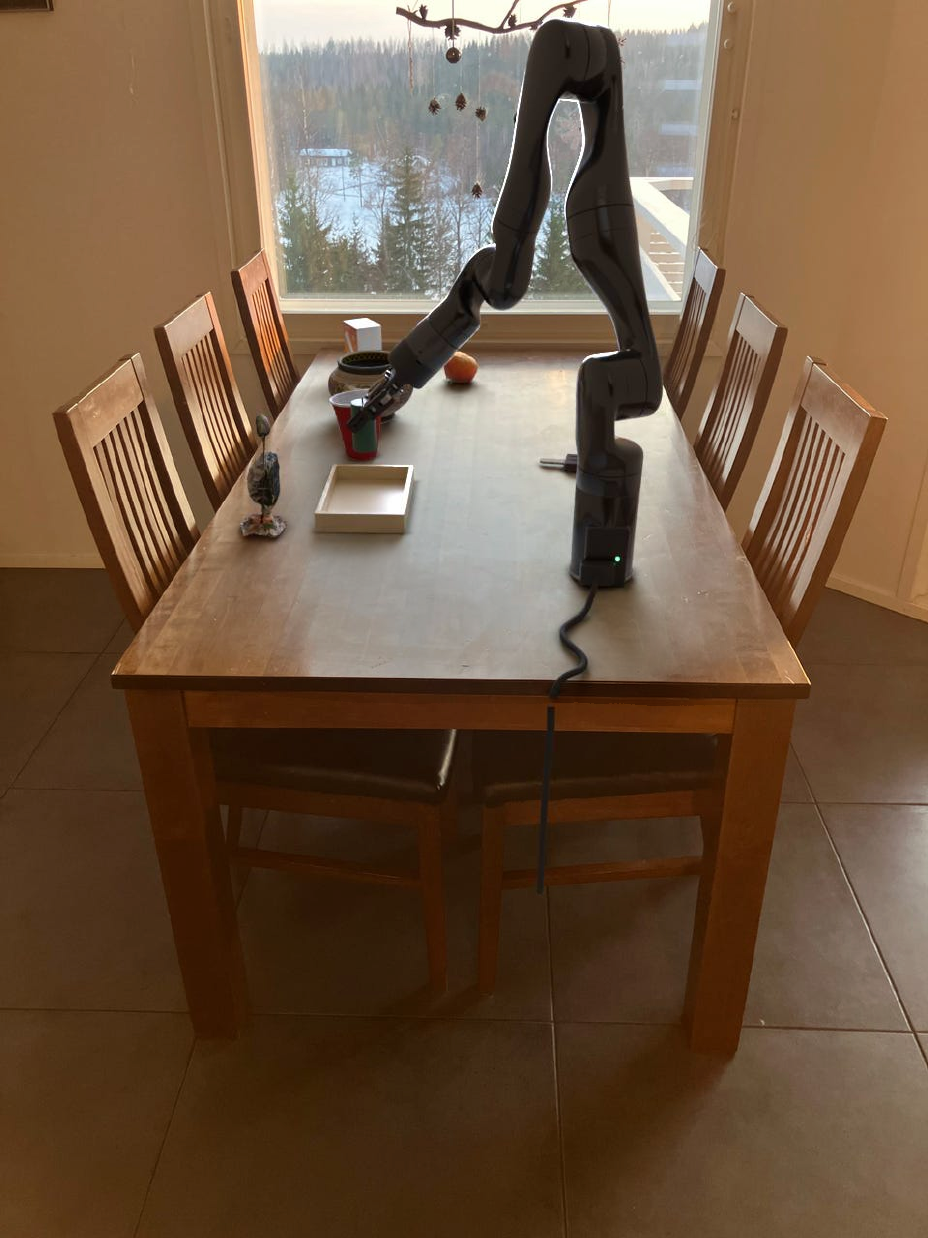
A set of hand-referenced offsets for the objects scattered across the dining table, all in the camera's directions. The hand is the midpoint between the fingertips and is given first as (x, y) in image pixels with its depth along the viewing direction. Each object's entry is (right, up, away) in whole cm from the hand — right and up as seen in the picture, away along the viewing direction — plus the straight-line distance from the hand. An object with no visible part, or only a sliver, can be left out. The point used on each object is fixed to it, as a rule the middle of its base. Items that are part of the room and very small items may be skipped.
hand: (352, 424), depth 163 cm
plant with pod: (-14, -17, 0) cm, 22 cm away
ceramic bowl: (-1, +10, +47) cm, 48 cm away
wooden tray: (+2, -13, +7) cm, 15 cm away
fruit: (+18, +24, +70) cm, 76 cm away
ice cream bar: (+40, -4, +23) cm, 47 cm away
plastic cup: (-2, -1, +28) cm, 28 cm away
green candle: (+2, -4, +2) cm, 5 cm away
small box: (-5, +25, +72) cm, 77 cm away
